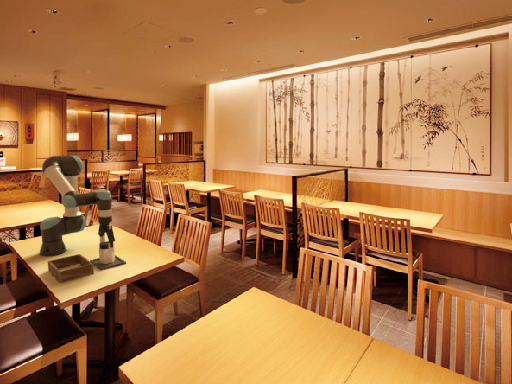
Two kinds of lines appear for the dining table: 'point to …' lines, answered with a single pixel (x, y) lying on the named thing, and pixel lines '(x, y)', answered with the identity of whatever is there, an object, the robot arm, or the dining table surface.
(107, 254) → the jar
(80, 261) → the crate
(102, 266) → the tray
